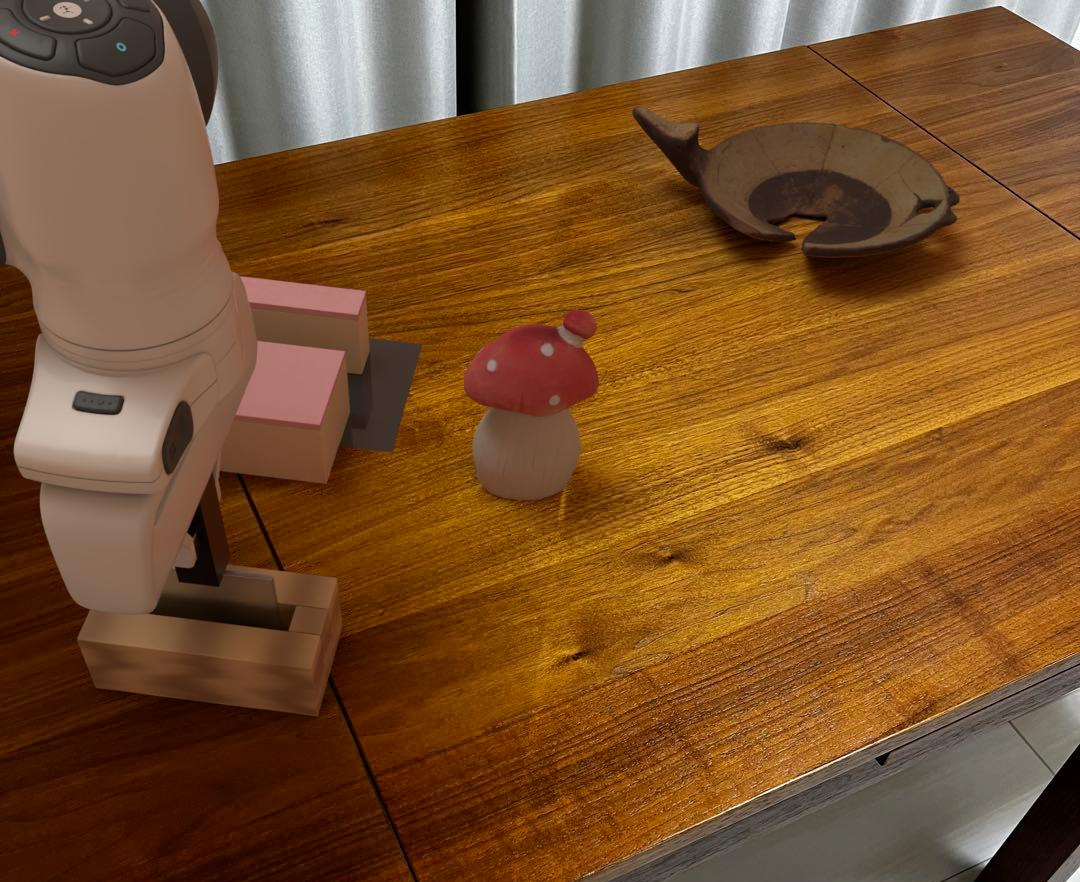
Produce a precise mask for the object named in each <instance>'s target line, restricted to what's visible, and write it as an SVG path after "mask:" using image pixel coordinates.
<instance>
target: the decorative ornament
mask: <svg viewBox="0 0 1080 882" xmlns="http://www.w3.org/2000/svg"><path fill="white" fill-rule="evenodd" d="M597 329H598V324H597V320H596V319H595V317H594V315H593V314H591V313H590V312H589V311H587V310H583V309H572V310H570V311H568V312H566V314H565V315H564V316H563V321H562V325H561V326H551V325H545V324H542V323H541V324H539V323H538V324H537V323H536V324H533V323H532V324H525V325H518V326H515V327H512V328H511V329H509V330H507V331H505V332H504V333H502V334H501V335H499V336H498V337H497V338H495V339H494V340H492V341H491V342H489V343H488V344H486V345H484V346H483V347H481V349H480V350H479V351H478V352H477V353H476V354H475V356H474V357H473V359H472V360H471V361H470V363H469V364H468V366H467V368H466V370H465V372H464V373H463V391H464V393H465V394H466V396H467V398H469V399H470V400H472V401H474V402H475V403H476V404H478V405H480V406H483V407H486V408H487V407H488V408H487V410H486V412H485V413H484V415H483V416H482V418H481V419H480V421H479V423H478V425H477V427H476V429H475V432H474V435H473V437H472V438H473V439H472V442H471V443H472V444H471V445H472V446H471V448H472V449H471V451H472V452H471V453H472V457H473V463H474V471H475V474H476V478H477V481H478V482H479V483H480V485H481V487H482V488H484V489H485V490H486V491H487V492H488V493H490V494H491V495H492V496H496V497H499V498H503V499H507V500H514V501H536V500H542V499H546V498H549V497H552V496H554V495H556V494H558V493H560V492H563V491H564V489H565V488H566V486H567V485H568V483H569V481H570V480H571V477H572V475H573V473H574V470H575V469H576V466H577V464H578V462H579V459H580V455H581V450H582V444H581V436H580V431H579V428H578V424H577V422H576V419H575V417H574V416H573V414H572V413H571V411H570V410H569V409H570V408H571V407H573V406H576V405H577V404H579V403H581V402H583V401H586V400H587V399H590V398H593V397H594V396H595V394H597V392H598V389H599V385H600V384H599V383H600V378H599V373H598V369H597V368H596V365H595V362H594V361H593V359H592V357H591V356H590V355H589V353H588V351H587V350H586V349H585V348H584V346H583V345H584V344H583V343H584V342H586V341H587V340H589V339H591V338H593V336H595V335H596V332H597Z"/></svg>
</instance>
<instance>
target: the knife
mask: <svg viewBox="0 0 1080 882" xmlns="http://www.w3.org/2000/svg"><path fill="white" fill-rule="evenodd" d="M189 528H194V529H198V532H199V536H200V542H201V545H202V546H201V549H200V552H199V554H198V557H197V559H196V562H195V564H194V566H193V567H192V568H182V567H174V566H173V567H172V569H171V572H170V574H169V576H168V579H167V581H166V584H165V586H164V588H163V591H162V593H161V596H160V598H159V601H158V604H157V606H156V607H155V609H154V610H153V611H152V614H153V615H161V616H169V617H177V618H185V619H192V620H200V621H208V622H216V623H224V624H232V625H240V626H248V627H256V628H264V629H272V630H280V631H283V628H282V623H281V617H280V611H279V606H278V600H277V594H276V589H275V583H274V577H273V575H266V574H258V573H250V572H241V571H233V570H226V567H227V565H228V564H229V562H230V559H231V556H232V555H231V553H230V547H229V542H228V538H227V533H226V528H225V523H224V520H223V515H222V509H221V505H220V502H219V500H218V495H217V491H216V486H215V481H214V477H213V472H212V473H211V475H210V478H209V480H208V483H207V485H206V487H205V490H204V492H203V495H202V497H201V499H200V502H199V504H198V507H197V509H196V512H195V514H194V516H193V519H192V521H191V524H190V526H189Z"/></svg>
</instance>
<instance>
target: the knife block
mask: <svg viewBox="0 0 1080 882" xmlns="http://www.w3.org/2000/svg"><path fill="white" fill-rule="evenodd" d="M226 570H233V571H241V572H250V573H258V574H266V575H273V577H274V583H275V589H276V594H277V600H278V606H279V611H280V617H281V623H282V628H283V631H280V630H272V629H264V628H256V627H248V626H240V625H232V624H224V623H216V622H208V621H200V620H192V619H185V618H177V617H169V616H161V615H153V614H152V612H150V613H148V614H141V615H125V614H114V613H107V612H100V611H95V610H91V609H89V611H88V614H87V616H86V618H85V620H84V622H83V625H82V627H81V629H80V631H79V633H78V635H77V638H76V641H77V644H78V646H79V650H80V651H81V654H82V657H83V659H84V661H85V664H86V667H87V669H88V672H89V675H90V678H91V680H92V682H93V685H94V687H95V688H96V689H102V690H108V691H109V690H111V691H118V692H125V693H126V692H127V693H133V694H141V695H149V696H155V697H165V698H172V699H173V698H174V699H181V700H188V701H195V702H203V703H211V704H217V705H218V704H220V705H227V706H234V707H235V706H236V707H242V708H251V709H259V710H267V711H273V712H282V713H289V714H297V715H305V716H312V717H313V716H314V717H318V716H319V713H320V710H321V706H322V702H323V700H324V699H323V698H324V695H325V691H326V689H327V688H326V687H327V684H328V681H329V677H330V674H331V670H332V666H333V663H334V659H335V655H336V652H337V648H338V645H339V642H340V639H341V634H342V631H343V627H344V626H343V625H344V624H343V617H342V609H341V598H340V589H339V588H340V587H339V581H338V580H339V579H338V577H332V576H324V575H315V574H307V573H300V572H294V571H293V572H292V571H285V570H277V569H267V568H259V567H251V566H245V565H244V566H243V565H235V564H229V563H228V565H227V567H226Z"/></svg>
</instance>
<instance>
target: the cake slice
mask: <svg viewBox="0 0 1080 882" xmlns="http://www.w3.org/2000/svg"><path fill="white" fill-rule="evenodd" d="M239 276H240V278H241V280H242V282H243V284H244V287H245V290H246V293H247V297H248V301H249V305H250V309H251V313H252V317H253V322H254V327H255V331H256V336H257V341H262V342H271V343H279V344H287V345H296V346H304V347H313V348H321V349H330V350H338V351H345V355H346V366H347V373H352V374H362V373H363V370H364V367H365V364H366V361H367V357H368V354H369V351H370V350H369V338H370V334H369V322H368V321H369V318H368V317H369V316H368V304H367V303H368V302H367V291H366V290H360V289H352V288H343V287H334V286H326V285H320V284H319V285H317V284H309V283H300V282H293V281H283V280H275V279H268V278H259V277H258V278H257V277H249V276H241V275H239Z"/></svg>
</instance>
